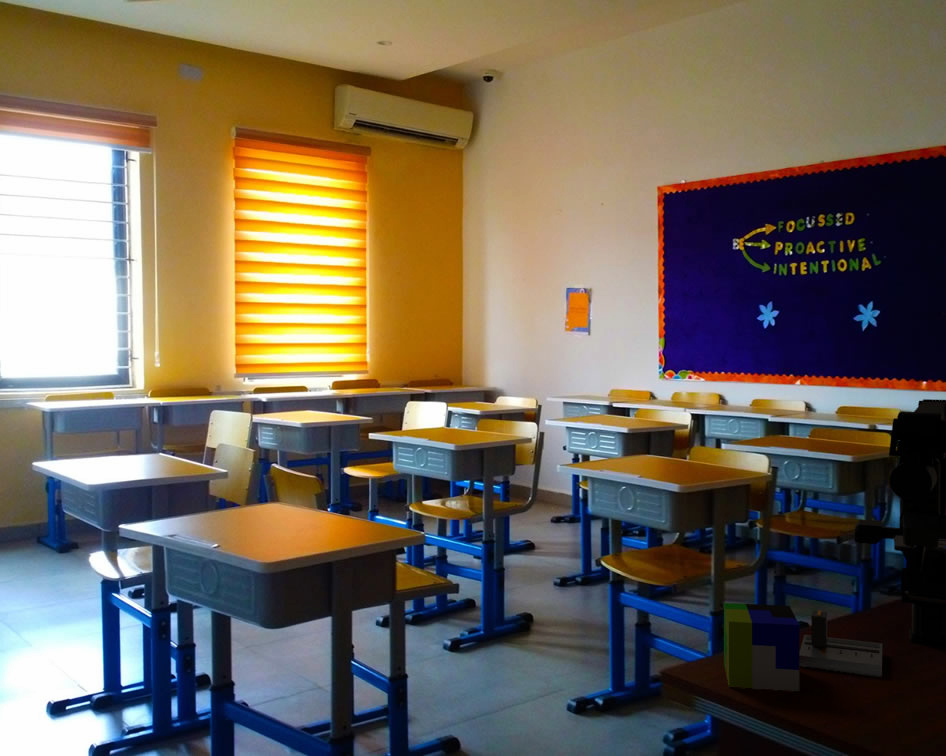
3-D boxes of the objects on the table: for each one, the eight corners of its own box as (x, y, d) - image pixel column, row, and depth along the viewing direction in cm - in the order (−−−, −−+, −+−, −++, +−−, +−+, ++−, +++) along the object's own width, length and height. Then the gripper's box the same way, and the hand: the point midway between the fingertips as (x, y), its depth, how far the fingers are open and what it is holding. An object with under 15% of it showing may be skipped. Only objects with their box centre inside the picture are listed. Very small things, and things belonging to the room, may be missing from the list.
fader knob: (812, 639, 149) (812, 609, 149) (827, 640, 148) (827, 610, 148) (811, 645, 146) (811, 614, 146) (825, 646, 145) (825, 616, 145)
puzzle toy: (799, 692, 132) (799, 625, 132) (728, 687, 134) (728, 621, 134) (789, 668, 142) (789, 605, 142) (724, 664, 144) (723, 602, 144)
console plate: (804, 645, 153) (804, 634, 153) (882, 654, 148) (882, 642, 148) (798, 666, 143) (798, 654, 143) (881, 677, 138) (881, 664, 138)
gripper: (853, 495, 139) (853, 596, 139) (992, 503, 131) (992, 609, 131) (856, 485, 149) (856, 578, 149) (986, 491, 141) (985, 590, 141)
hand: (919, 589), depth 143 cm, fingers closed
